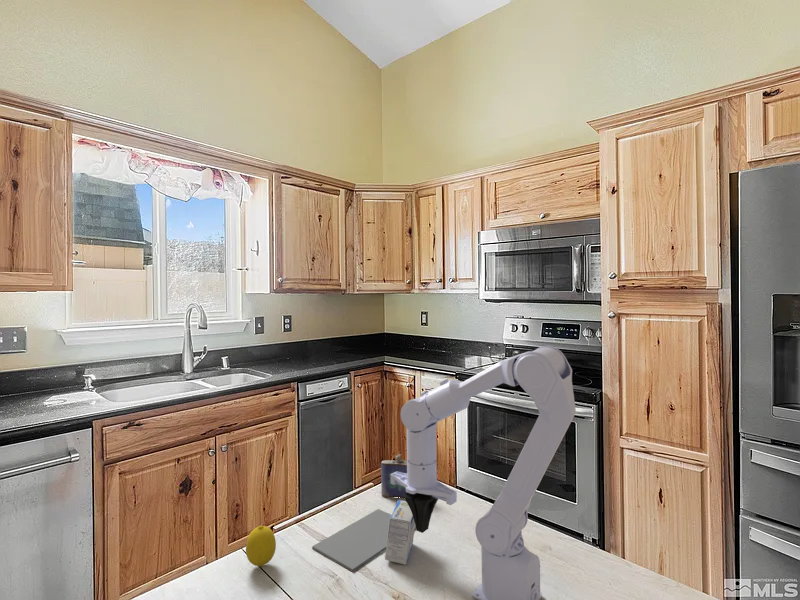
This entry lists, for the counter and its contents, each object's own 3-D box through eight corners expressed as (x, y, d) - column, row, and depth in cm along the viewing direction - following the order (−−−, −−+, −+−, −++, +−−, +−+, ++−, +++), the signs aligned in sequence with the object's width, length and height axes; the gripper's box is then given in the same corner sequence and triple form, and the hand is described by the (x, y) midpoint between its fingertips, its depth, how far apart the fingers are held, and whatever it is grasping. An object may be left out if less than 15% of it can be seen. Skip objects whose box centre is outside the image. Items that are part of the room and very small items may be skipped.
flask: (380, 497, 114) (379, 455, 114) (383, 492, 117) (382, 451, 116) (415, 500, 112) (414, 458, 111) (417, 495, 114) (417, 454, 114)
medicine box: (406, 566, 85) (411, 522, 84) (383, 560, 86) (389, 517, 85) (413, 543, 93) (418, 503, 92) (392, 538, 94) (397, 498, 93)
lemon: (239, 570, 84) (239, 529, 84) (261, 555, 89) (260, 516, 89) (261, 579, 82) (260, 536, 82) (282, 562, 87) (281, 522, 86)
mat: (417, 527, 99) (417, 525, 99) (352, 571, 83) (352, 569, 83) (378, 511, 106) (378, 509, 106) (312, 548, 91) (312, 546, 91)
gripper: (379, 457, 86) (380, 525, 87) (440, 476, 77) (441, 553, 77) (402, 447, 92) (403, 511, 92) (462, 464, 82) (463, 535, 83)
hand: (422, 529), depth 85 cm, fingers closed
